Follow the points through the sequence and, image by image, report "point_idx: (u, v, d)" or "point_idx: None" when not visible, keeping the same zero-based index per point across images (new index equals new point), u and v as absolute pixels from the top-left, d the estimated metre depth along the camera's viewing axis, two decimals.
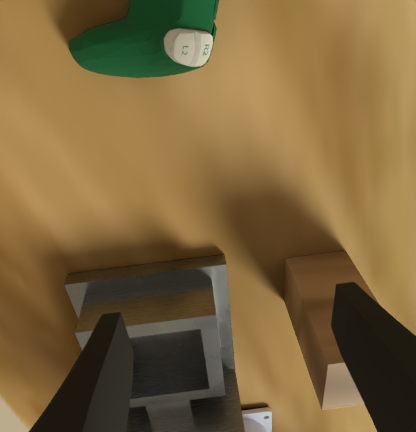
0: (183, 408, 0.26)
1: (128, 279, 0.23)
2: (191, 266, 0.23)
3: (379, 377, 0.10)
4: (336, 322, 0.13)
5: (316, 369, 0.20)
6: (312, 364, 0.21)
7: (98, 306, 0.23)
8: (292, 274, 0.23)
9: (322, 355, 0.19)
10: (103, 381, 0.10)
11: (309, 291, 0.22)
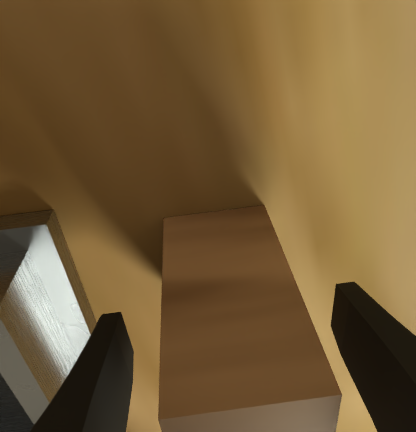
0: None
1: None
2: None
3: (379, 377, 0.10)
4: (336, 322, 0.13)
5: None
6: None
7: None
8: (164, 241, 0.13)
9: (161, 395, 0.09)
10: (103, 381, 0.10)
11: (180, 268, 0.12)
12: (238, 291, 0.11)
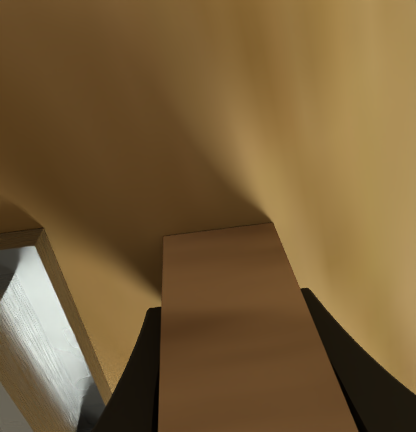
0: None
1: None
2: None
3: None
4: None
5: None
6: None
7: None
8: (163, 265, 0.12)
9: None
10: None
11: (181, 297, 0.11)
12: (247, 326, 0.10)
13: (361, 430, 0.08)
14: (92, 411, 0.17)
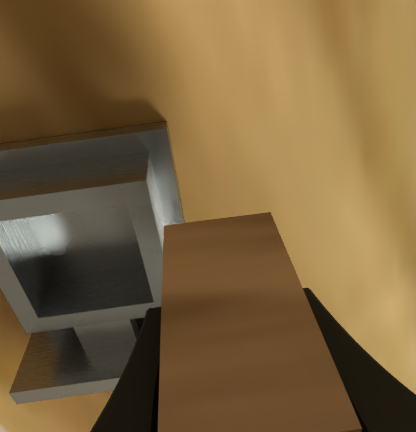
0: (124, 332, 0.20)
1: (38, 150, 0.18)
2: (121, 133, 0.18)
3: None
4: None
5: None
6: None
7: None
8: (164, 252, 0.13)
9: (160, 426, 0.08)
10: None
11: (181, 281, 0.11)
12: (244, 307, 0.10)
13: None
14: None
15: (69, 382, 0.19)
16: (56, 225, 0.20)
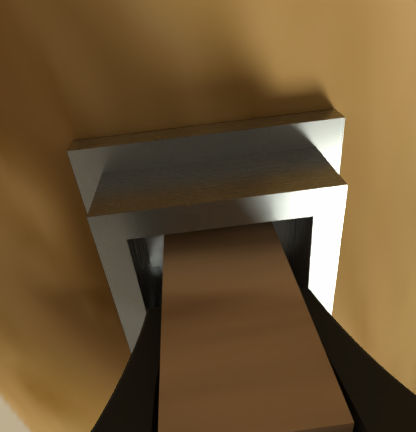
0: None
1: (177, 143, 0.13)
2: (284, 122, 0.14)
3: None
4: None
5: None
6: None
7: (127, 184, 0.13)
8: (164, 252, 0.13)
9: (160, 421, 0.08)
10: None
11: (181, 281, 0.12)
12: (242, 306, 0.10)
13: (361, 430, 0.08)
14: None
15: None
16: None
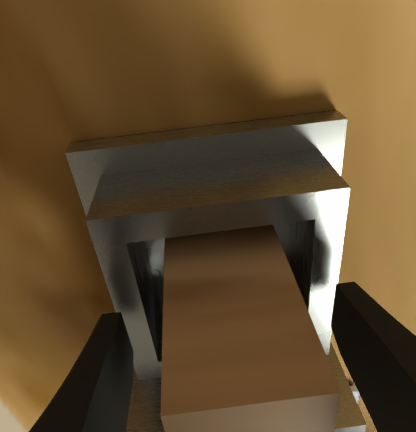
0: None
1: (177, 145, 0.13)
2: (285, 124, 0.13)
3: (379, 377, 0.10)
4: (336, 322, 0.13)
5: None
6: None
7: (126, 187, 0.13)
8: (165, 240, 0.14)
9: (163, 392, 0.09)
10: (103, 381, 0.10)
11: (181, 266, 0.12)
12: (239, 290, 0.11)
13: None
14: None
15: None
16: None
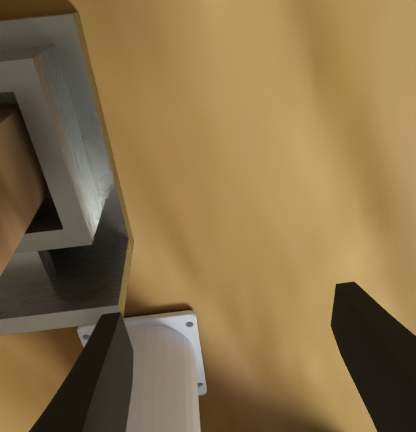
0: (32, 267, 0.18)
1: None
2: (20, 19, 0.15)
3: (379, 377, 0.10)
4: (336, 322, 0.13)
5: None
6: None
7: None
8: None
9: None
10: (103, 381, 0.10)
11: None
12: None
13: None
14: (111, 219, 0.20)
15: None
16: None
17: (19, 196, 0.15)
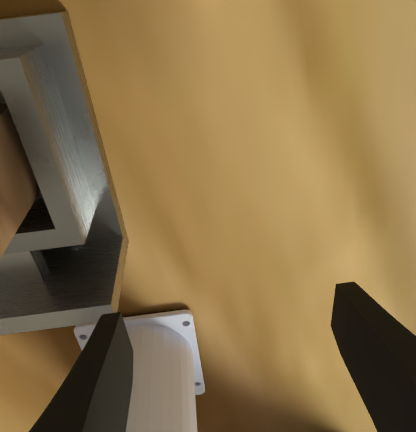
0: (25, 267, 0.18)
1: None
2: (8, 18, 0.15)
3: (379, 377, 0.10)
4: (336, 322, 0.13)
5: None
6: None
7: None
8: None
9: None
10: (103, 381, 0.10)
11: None
12: None
13: None
14: (104, 218, 0.20)
15: None
16: None
17: (10, 196, 0.15)
